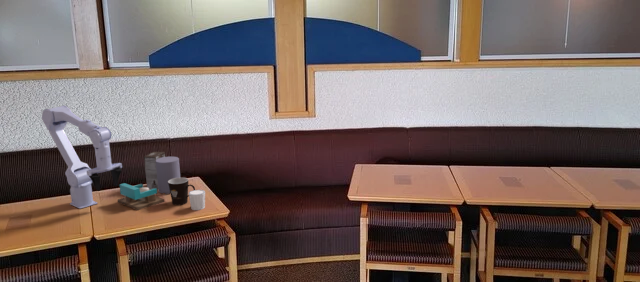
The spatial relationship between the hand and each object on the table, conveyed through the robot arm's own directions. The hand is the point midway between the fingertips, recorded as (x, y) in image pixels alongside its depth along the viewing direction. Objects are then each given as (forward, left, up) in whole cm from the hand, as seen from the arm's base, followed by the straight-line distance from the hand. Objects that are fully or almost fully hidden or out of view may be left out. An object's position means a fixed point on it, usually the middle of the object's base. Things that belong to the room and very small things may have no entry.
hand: (107, 187), depth 220 cm
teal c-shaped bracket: (+3, +12, -5) cm, 14 cm away
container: (0, +30, -10) cm, 31 cm away
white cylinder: (+29, +24, -10) cm, 39 cm away
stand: (+3, +13, -9) cm, 16 cm away
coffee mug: (+19, +23, -10) cm, 31 cm away
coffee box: (-10, +30, -10) cm, 33 cm away
